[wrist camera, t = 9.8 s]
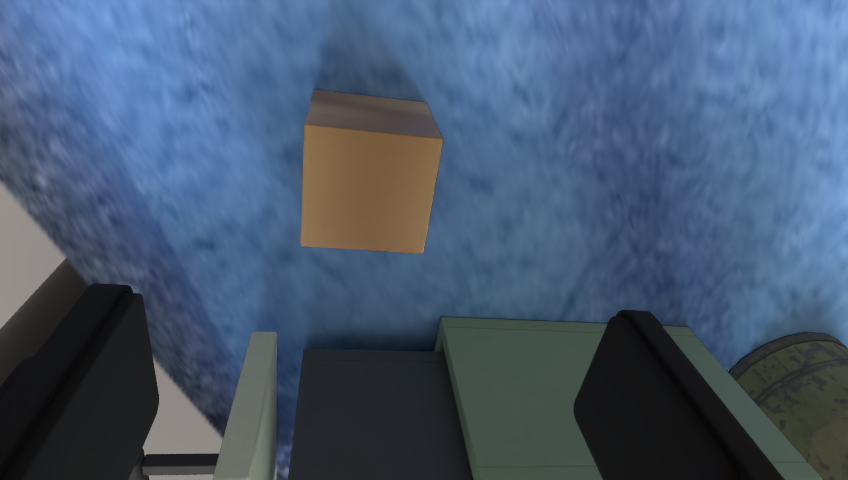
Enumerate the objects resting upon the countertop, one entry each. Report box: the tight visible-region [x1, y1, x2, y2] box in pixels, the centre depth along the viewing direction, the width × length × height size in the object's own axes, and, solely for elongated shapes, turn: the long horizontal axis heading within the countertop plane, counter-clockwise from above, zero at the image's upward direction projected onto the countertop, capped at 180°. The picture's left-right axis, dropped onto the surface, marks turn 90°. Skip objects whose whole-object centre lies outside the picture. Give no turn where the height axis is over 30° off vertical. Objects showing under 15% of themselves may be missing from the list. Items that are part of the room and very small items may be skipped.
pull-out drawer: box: [129, 331, 474, 480], centre depth 24 cm, size 18×11×8 cm, turn 81°
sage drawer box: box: [434, 317, 822, 480], centre depth 26 cm, size 15×13×10 cm
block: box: [300, 89, 443, 254], centre depth 19 cm, size 4×4×4 cm
